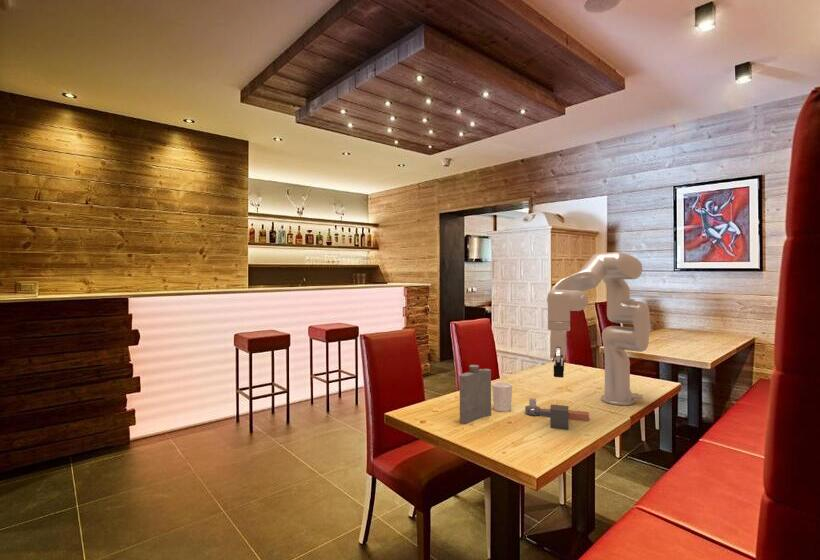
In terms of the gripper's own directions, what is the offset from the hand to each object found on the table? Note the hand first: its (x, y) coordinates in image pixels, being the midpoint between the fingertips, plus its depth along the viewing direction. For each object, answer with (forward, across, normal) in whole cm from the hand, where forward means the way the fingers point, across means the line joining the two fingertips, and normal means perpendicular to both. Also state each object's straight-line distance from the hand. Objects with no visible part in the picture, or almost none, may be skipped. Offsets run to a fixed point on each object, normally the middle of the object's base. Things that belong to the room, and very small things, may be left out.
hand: (559, 373), depth 148 cm
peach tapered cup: (+19, -12, -22) cm, 31 cm away
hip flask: (+19, +2, -30) cm, 35 cm away
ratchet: (+19, -10, -2) cm, 21 cm away
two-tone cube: (+19, 0, 0) cm, 19 cm away
